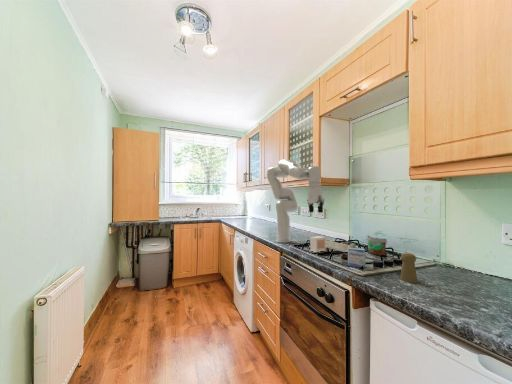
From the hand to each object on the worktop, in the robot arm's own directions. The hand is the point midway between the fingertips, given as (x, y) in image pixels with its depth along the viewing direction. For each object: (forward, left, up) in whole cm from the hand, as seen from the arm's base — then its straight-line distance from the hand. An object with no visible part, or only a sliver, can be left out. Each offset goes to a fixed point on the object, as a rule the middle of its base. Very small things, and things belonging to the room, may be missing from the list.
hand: (315, 212), depth 143 cm
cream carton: (+2, 0, -25) cm, 25 cm away
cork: (+56, -3, -25) cm, 61 cm away
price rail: (+3, +14, -25) cm, 28 cm away
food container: (+24, +24, -25) cm, 42 cm away
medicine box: (+33, -5, -25) cm, 41 cm away
